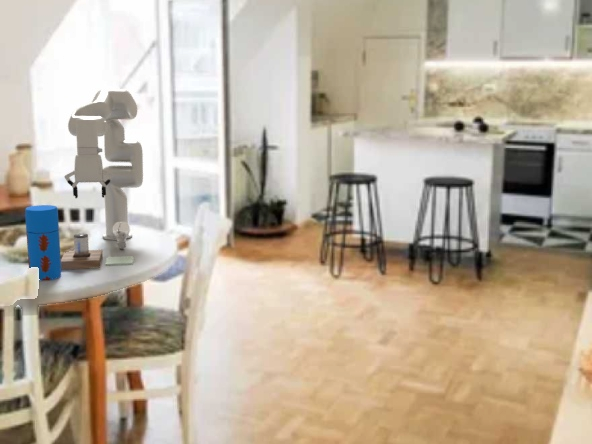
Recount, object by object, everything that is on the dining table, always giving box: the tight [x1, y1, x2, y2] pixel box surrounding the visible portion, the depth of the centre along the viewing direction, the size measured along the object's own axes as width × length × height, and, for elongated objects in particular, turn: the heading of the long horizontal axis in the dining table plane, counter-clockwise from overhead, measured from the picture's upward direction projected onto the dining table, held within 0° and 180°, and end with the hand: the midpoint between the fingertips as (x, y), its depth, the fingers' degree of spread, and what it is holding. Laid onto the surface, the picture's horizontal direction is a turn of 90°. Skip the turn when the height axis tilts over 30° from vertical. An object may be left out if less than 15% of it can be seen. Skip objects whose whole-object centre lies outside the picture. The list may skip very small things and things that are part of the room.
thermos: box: [24, 204, 62, 282], centre depth 258 cm, size 11×11×25 cm
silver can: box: [73, 233, 90, 258], centre depth 278 cm, size 5×5×11 cm
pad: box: [105, 255, 134, 266], centre depth 282 cm, size 10×10×1 cm
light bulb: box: [113, 221, 131, 251], centre depth 299 cm, size 7×7×12 cm
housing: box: [61, 249, 104, 270], centre depth 279 cm, size 16×14×3 cm
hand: (89, 197), depth 273 cm, fingers open, 9 cm apart
